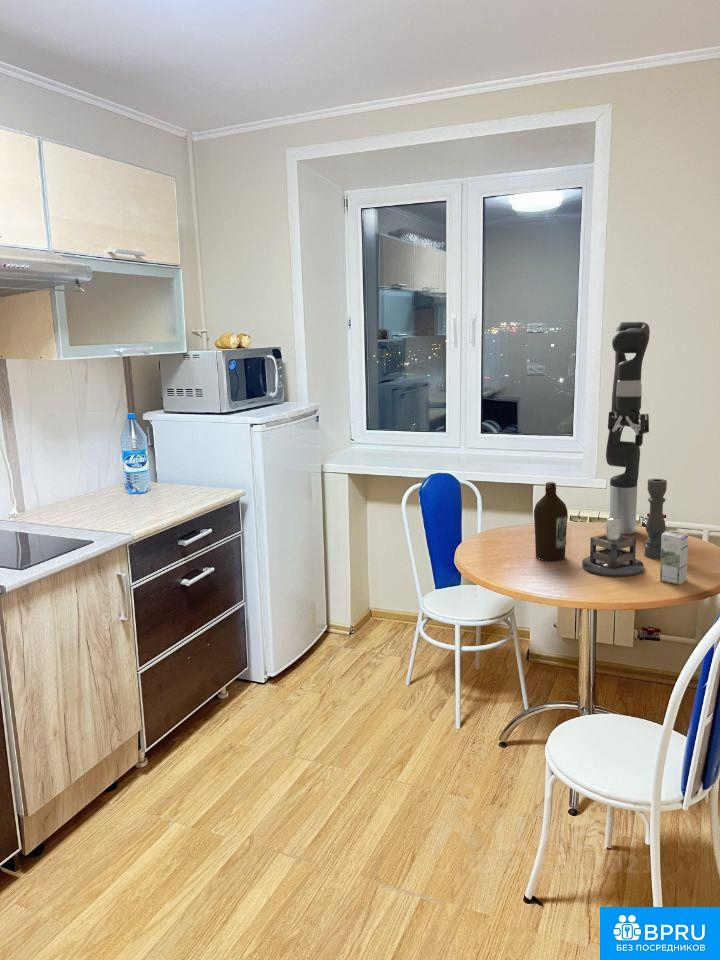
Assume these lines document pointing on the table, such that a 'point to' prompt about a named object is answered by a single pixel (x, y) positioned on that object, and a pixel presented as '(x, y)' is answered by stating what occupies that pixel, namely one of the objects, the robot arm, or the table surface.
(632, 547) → the collar stand
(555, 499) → the olive oil
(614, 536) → the silver metal bottle
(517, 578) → the table surface
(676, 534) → the syrup box
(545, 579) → the table surface
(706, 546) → the table surface
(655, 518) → the candle holder
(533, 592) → the table surface
